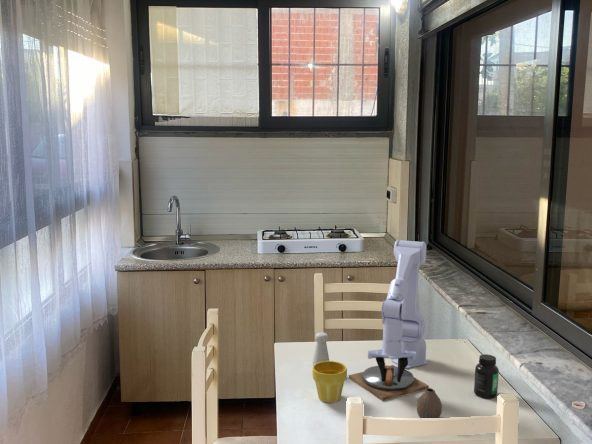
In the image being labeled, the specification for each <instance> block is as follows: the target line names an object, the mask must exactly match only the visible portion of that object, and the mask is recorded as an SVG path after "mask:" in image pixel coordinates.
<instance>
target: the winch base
mask: <svg viewBox="0 0 592 444" xmlns="http://www.w3.org/2000/svg"><path fill="white" fill-rule="evenodd" d="M390 366H395V367H397V366H396V365H394V364H392V365H390ZM363 372H364V371H361V372H356V373H351V374H349V375H348V379H349V380H350V381H352V382H354V383H355V384H357V385H358V386H360V387H361V388H363V389H364V390H365V391H367V392H369V394H371V395H373V396H374V397H376V398H377V399H378V400H380V401H381V402H383V401H386V400H390V399H394V398H398V397H402V396H407V395H409V394H414V393H417V392H421V391H425V390H426V389H427V388H430V385H428V384H426V382H423V381H422V380H420V379H418V378H416V377H414V382H413V384H412V385H411V386H410V387H408V388H406V389H402V390H383V389H378V388H375V387H372V386H370V385H368V384H367V383H365V382H364V380H363Z"/></svg>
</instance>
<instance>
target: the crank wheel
mask: <svg viewBox="0 0 592 444" xmlns="http://www.w3.org/2000/svg"><path fill="white" fill-rule="evenodd" d="M395 366H396V365H394V366H391V365H386V364H385V370H384V378H385V380H384V382H382V380H381V372H380V369H379V366H378V365H374V366H370V367H367V368H366V369H365V370H363V371H362V372H363V380H364V382H365V383H367V384H368V385H370V386H372V387H375V388H378V389H383V390H402V389H406V388H408V387H410V386H411V385H412V384H413V382H414V374H413V373H412V372H411V371H409V370H407V369H405V370H404V372H403V374H402V377H401V380H400V382H398V381H397V372H398V366H396V367H395Z"/></svg>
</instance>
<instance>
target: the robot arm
mask: <svg viewBox="0 0 592 444" xmlns="http://www.w3.org/2000/svg"><path fill="white" fill-rule="evenodd" d="M393 256H394V258H395V261H396V262H397V265H396V271H395V272H396V273H395V278H394V279H392V280H391V281H390V283H389V287H388V292H387V295H386V300H383V301H382V304H381V318H382V321H381V323H382V324H383V327H382V328H383V329H382V330H383V331H382V349H372V350H370V349H369V350H367V359H368V360H369V359H370V360H371V359H375V361H376V363H377V366H379V369H380V372H381V380H382V382H384V380H385V378H384V370H385V365H386V362H385V359H390V360H391V362H393V363H395V364H397V367H398V372H397V381H398V382H400V380H401V377H402V374H403V372H404V370H406V369H410V368H414V367H418V366H423V365H427V364H428V362H427V360H426V356H427V344H426V340H425V338H424V335H425V330H426V329H425V327H426V326H425V317H424V316H423V314H421V313H420V311H418V310H417V306H418V305H417V304H418V303H417V302H418V291H419V289H418V288H419V286H418V285H419V272H420V271H419V270H420V266H421V265H425V264H426V260H427V243H426V242H425V241H414V240H413V241H412V240H403V239H402V240H401V239H396V240H395V242H394V246H393Z"/></svg>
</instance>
